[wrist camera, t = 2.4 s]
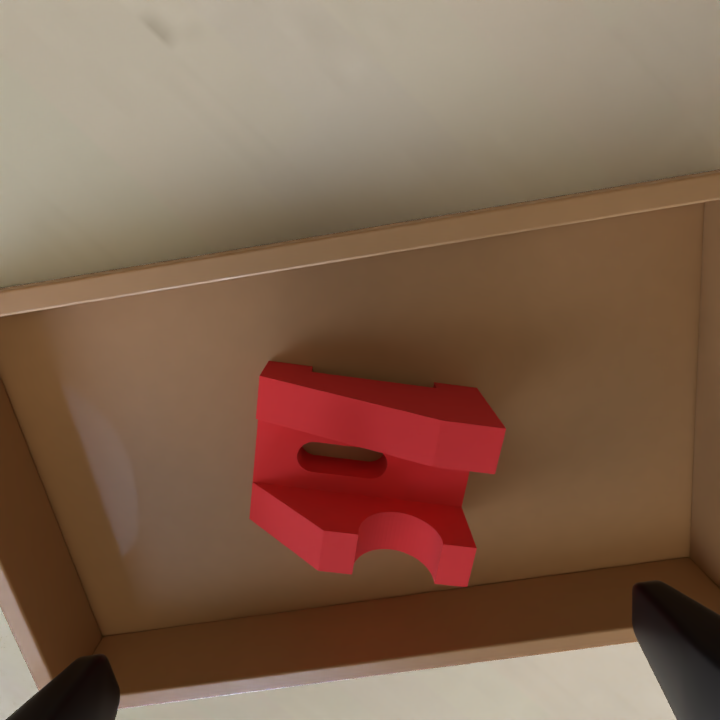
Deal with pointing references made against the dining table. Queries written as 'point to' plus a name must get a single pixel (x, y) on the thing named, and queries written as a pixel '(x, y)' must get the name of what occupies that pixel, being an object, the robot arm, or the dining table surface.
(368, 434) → the bracket
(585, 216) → the cardboard box
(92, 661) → the robot arm
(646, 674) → the dining table surface
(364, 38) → the dining table surface
